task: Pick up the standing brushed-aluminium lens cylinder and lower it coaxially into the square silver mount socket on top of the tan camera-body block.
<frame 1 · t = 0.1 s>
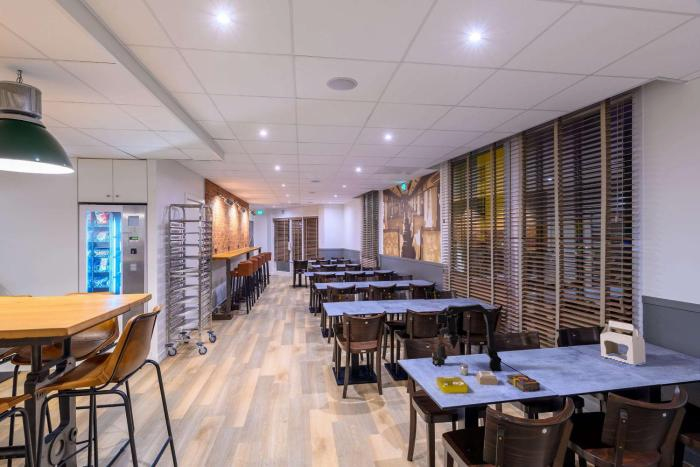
hand: (452, 346, 233), 15 cm above the table, fingers open, 9 cm apart
decorative book: (523, 387, 200), on the table
element tile: (451, 389, 199), on the table
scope: (440, 365, 239), on the table
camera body: (487, 382, 207), on the table
lens: (464, 374, 220), on the table
gable box: (622, 361, 244), on the table
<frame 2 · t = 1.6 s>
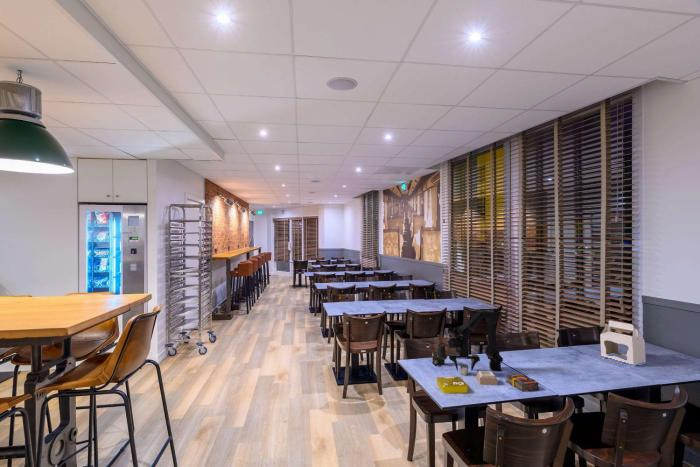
hand: (464, 370, 220), 2 cm above the table, fingers open, 9 cm apart
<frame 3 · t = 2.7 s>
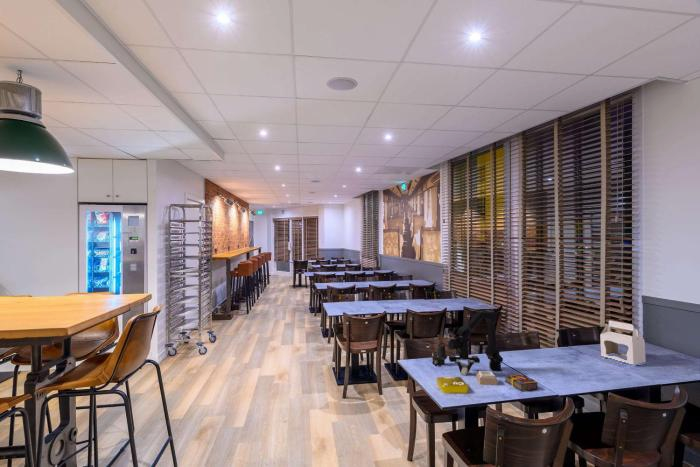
hand: (464, 372, 220), 2 cm above the table, fingers closed on lens, 5 cm apart
lens: (464, 374, 220), on the table, touching gripper
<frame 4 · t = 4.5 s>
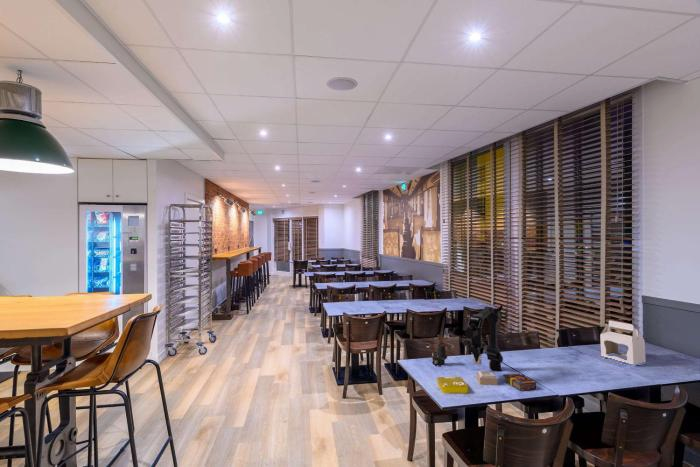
hand: (477, 360, 212), 12 cm above the table, fingers closed on lens, 5 cm apart
lens: (477, 363, 212), point 10 cm above the table, touching gripper
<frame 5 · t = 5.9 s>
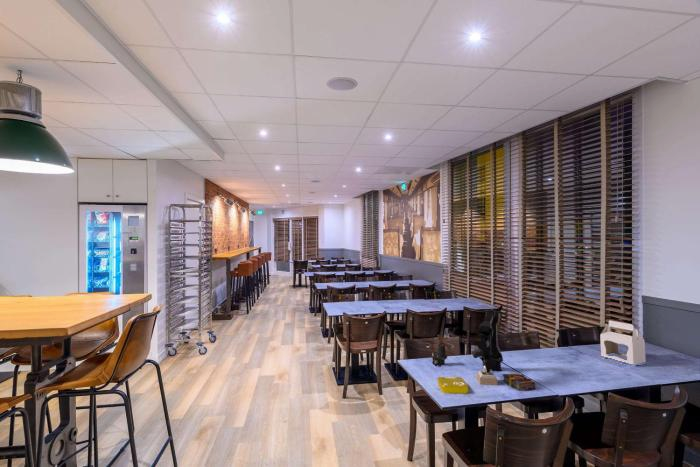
hand: (486, 371, 207), 7 cm above the table, fingers closed on lens, 5 cm apart
lens: (486, 374, 207), point 5 cm above the table, touching gripper
when the fingers open (6 cm above the table, at t = 6.6 s): lens stays where it is, resting on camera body.
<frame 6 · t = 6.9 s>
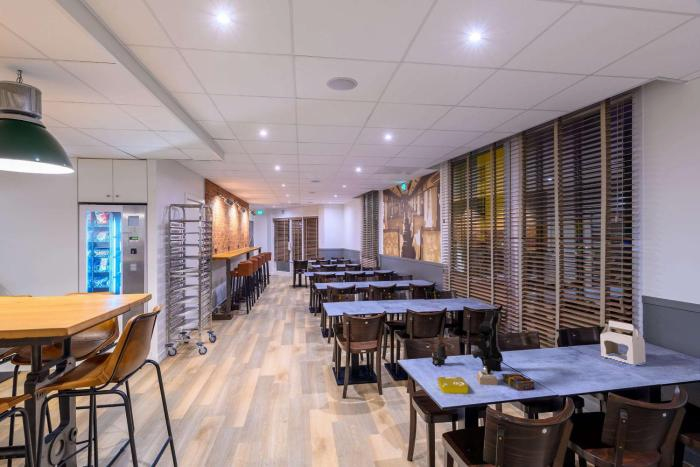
hand: (486, 371, 207), 6 cm above the table, fingers open, 8 cm apart
lens: (486, 375, 207), point 4 cm above the table, touching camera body
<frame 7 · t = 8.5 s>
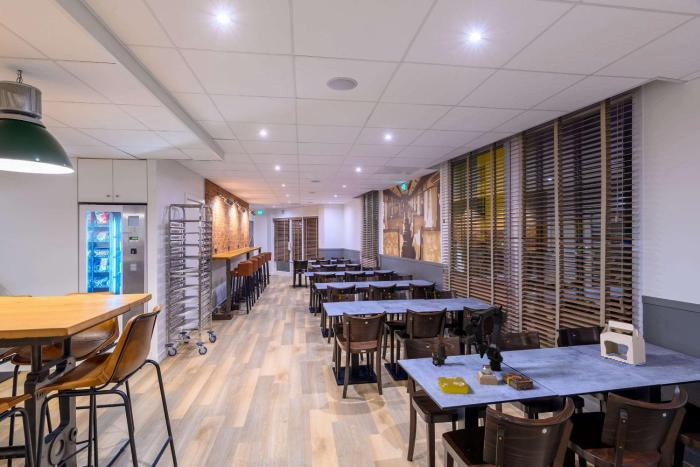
hand: (479, 356, 220), 12 cm above the table, fingers open, 9 cm apart
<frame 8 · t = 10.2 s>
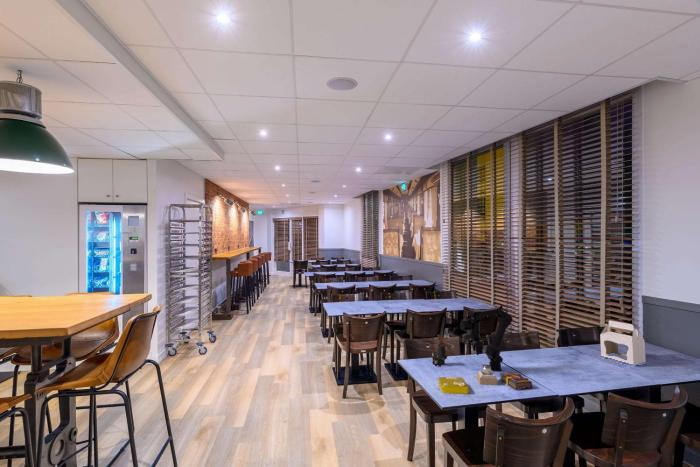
hand: (475, 352, 225), 13 cm above the table, fingers open, 9 cm apart
at the end: lens 0.0 cm off-centre on the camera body, point 4.0 cm above the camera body's base; lens tilted 0°; the gripper is holding nothing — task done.
